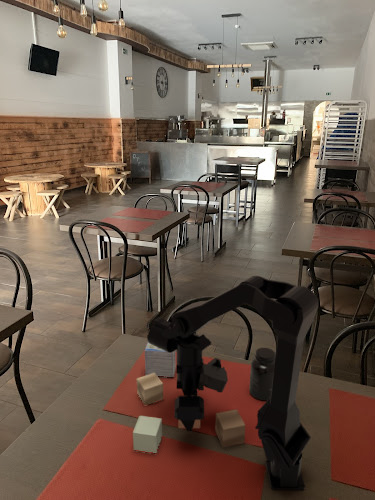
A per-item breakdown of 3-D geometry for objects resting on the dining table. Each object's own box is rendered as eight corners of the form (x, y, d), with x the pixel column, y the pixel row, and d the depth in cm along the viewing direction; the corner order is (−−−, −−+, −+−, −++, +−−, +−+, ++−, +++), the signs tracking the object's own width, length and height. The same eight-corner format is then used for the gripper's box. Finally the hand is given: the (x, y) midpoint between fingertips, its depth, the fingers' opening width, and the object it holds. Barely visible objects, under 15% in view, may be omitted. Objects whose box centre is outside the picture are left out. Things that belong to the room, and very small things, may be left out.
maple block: (163, 399, 99) (163, 383, 98) (145, 406, 97) (144, 389, 95) (155, 388, 103) (154, 372, 102) (137, 394, 101) (136, 378, 99)
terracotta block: (200, 428, 90) (200, 410, 88) (178, 428, 90) (178, 410, 88) (199, 413, 95) (199, 395, 93) (179, 412, 95) (178, 395, 93)
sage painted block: (156, 454, 83) (155, 435, 81) (133, 451, 84) (132, 432, 82) (162, 436, 88) (161, 418, 86) (140, 433, 89) (139, 415, 87)
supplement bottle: (278, 401, 98) (282, 360, 95) (251, 401, 99) (253, 360, 95) (273, 384, 105) (276, 345, 101) (247, 383, 105) (249, 344, 101)
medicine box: (175, 369, 111) (175, 342, 108) (173, 378, 107) (173, 351, 104) (148, 367, 112) (147, 340, 109) (145, 377, 108) (144, 349, 105)
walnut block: (244, 443, 86) (245, 425, 84) (222, 448, 85) (223, 429, 83) (235, 426, 90) (236, 409, 89) (215, 431, 89) (215, 413, 88)
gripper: (229, 386, 78) (227, 447, 83) (222, 336, 96) (220, 389, 101) (174, 386, 78) (174, 447, 83) (176, 336, 96) (177, 389, 101)
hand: (189, 415), depth 92 cm, fingers open, 9 cm apart
